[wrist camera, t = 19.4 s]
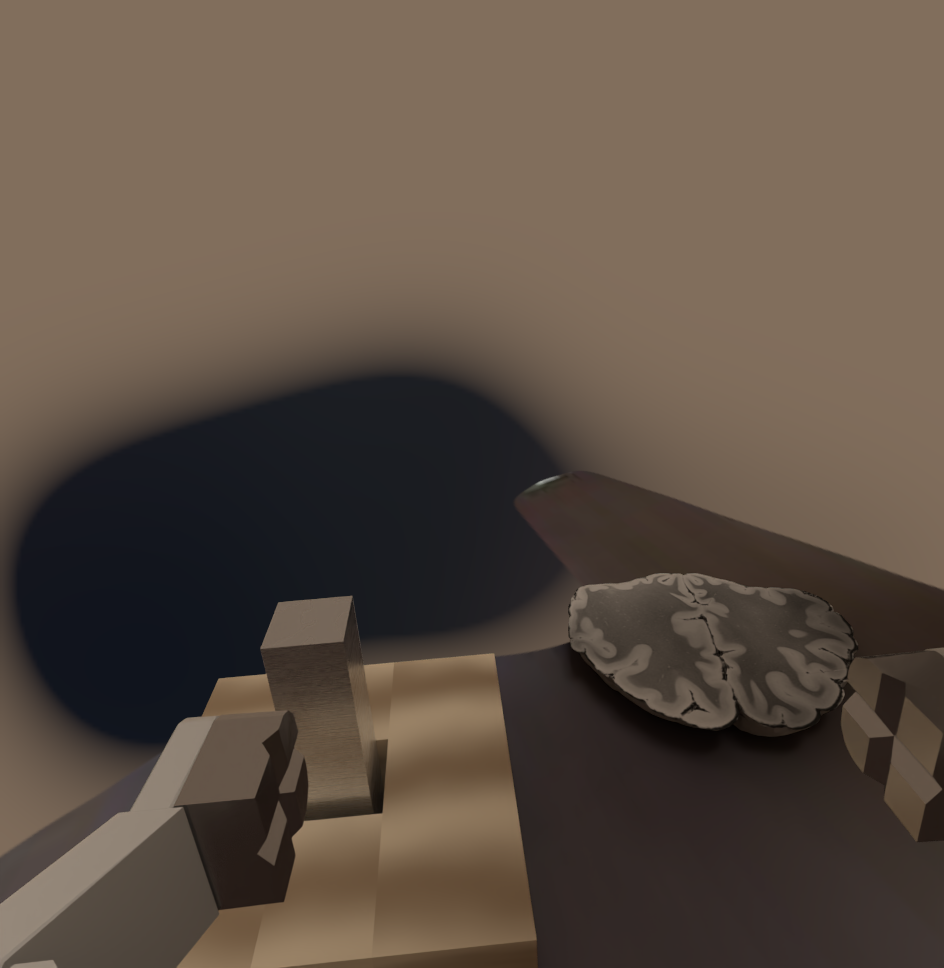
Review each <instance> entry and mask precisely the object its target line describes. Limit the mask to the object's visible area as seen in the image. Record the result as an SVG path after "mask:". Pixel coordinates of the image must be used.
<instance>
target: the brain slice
mask: <svg viewBox="0 0 944 968" xmlns="http://www.w3.org/2000/svg"><path fill="white" fill-rule="evenodd" d="M568 613H569V615H570V616H569V627H568V631H569V638H570V646H571V647H572V648H573V650H575V651H577V652H579V653H580V655H581V657H582V658H583V660H584V661H585V662H586V663H587V664H588V665H589V666H590V667H591V668H592V669H593V670H594V671H595V672H596V673H597V674H598V675H599V676H600V677H601V678H602V680H603V681H604V682H605V683H606V684H607V685H608V686H609V687H611V688H612V689H613V690H616V691H619V692H620V693H621V694H622V695H623V696H625V697H626V698H628V699H629V700H630V701H632V702H633V703H635V704H636V705H638V706H639V707H641V708H642V709H644V710H646V711H647V712H649V713H651V714H653V715H655V716H657V717H660V718H663V719H666V720H670V721H673V722H678V723H680V724H683V725H685V726H690V727H694V728H702V729H708V730H714V731H717V730H723V729H725V728H728V727H729V726H731V725H732V724H733V725H735V726H736V727H737V728H738V729H739V730H742V731H745V732H749V733H750V734H754V735H757V736H767V737H776V736H784V735H788V734H791V733H794V732H798V731H801V730H804V729H807V728H809V727H811V726H814V725H815V724H816V723H818V722H819V720H820V717H821V715H822V714H824V713H827V712H829V711H831V710H833V709H835V708H837V707H838V706H839V704H840V703H841V702H842V700H843V698H844V695H845V693H844V690H843V687H844V686H845V685H846V683H847V682H848V681H847V677H848V672H849V666H850V665H851V663H852V662H853V660H854V656H853V655H854V654H855V653H856V651H857V650H858V643H857V641H856V640H855V638H854V637H853V633H854V630H853V628H852V626H851V625H850V624H849V623H848V622H847V621H846V620H845V619H844V618H843V617H842V615H840V614H839V613H836V612H833V607H832V606H831V605H830V604H829V603H828V602H827V601H825V600H823V599H822V598H820V597H818V596H816V595H814V594H811V593H808V592H805V591H801V590H797V589H792V588H790V589H785V588H774V587H771V588H762V587H749V586H745V585H741V584H738V583H734V582H731V581H728V580H723V579H718V578H714V577H711V576H707V575H702V574H697V573H688V574H686V575H682V574H680V573H679V574H671V573H656V574H652V575H649V576H647V577H643V578H638V579H635V580H632V581H629V582H624V583H619V584H597V585H586V586H583V587H580V588H579V589H577V590H576V592H575V594H574V595H573V597H572V599H571V601H570V604H569V608H568Z"/></svg>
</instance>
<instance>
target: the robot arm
mask: <svg viewBox="0 0 944 968" xmlns="http://www.w3.org/2000/svg"><path fill="white" fill-rule="evenodd" d="M847 681H848V683H849V684H850V685H851V687H852V688H853V689H854V691H855V693H854V694H853V695H852V696H851V697H850V698H849V699H848V700H847V701H846V703H845V704H844V705H843V708H842V717H841V728H842V733H843V737H844V741H845V745H846V747H847V749H848V751H849V753H850V755H851V757H852V759H853V760H854V762H855V763H856V764H857V766H858V767H859V768H860V770H861V771H862V772H863V773H864V774H865V775H867V776H869V777H871V778H872V779H874V780H876V781H878V782H879V783H881V784H883V785H885V786H884V801H885V802H886V803H887V805H888V806H889V807H890V808H891V810H892V811H893V812H894V814H895V815H896V816H897V817H898V819H899V820H900V821H901V823H902V824H903V825H904V826H905V828H906V829H907V830H908V831H909V833H910V834H911V835H912V837H913V838H914V839H915V840H916V842H928V841H944V647H943V648H935V649H926V650H925V651H915V652H905V653H895V654H885V655H875V656H865V657H856V658H855V659H854V660H853V662H852V663H851V665H850V666H849V672H848V677H847ZM297 735H298V728H297V725H296V721H295V718H294V714H293V713H292V712H290V711H289V710H284V711H270V712H255V713H241V714H227V715H221V716H207V717H193V718H186V719H185V720H183V721H182V722H181V723H179V724H178V725H177V727H176V729H175V731H174V732H173V734H172V736H171V738H170V740H169V741H168V743H167V745H166V747H165V749H164V750H163V752H162V754H161V756H160V758H159V759H158V761H157V763H156V765H155V767H154V768H153V770H152V772H151V774H150V776H149V778H148V779H147V781H146V783H145V785H144V787H143V788H142V790H141V792H140V794H139V796H138V797H137V799H136V801H135V803H134V805H133V806H132V808H131V810H130V812H124V813H118V814H116V815H115V816H114V817H113V818H111V819H110V820H109V821H107V822H106V823H105V824H103V825H102V826H101V827H100V828H98V829H97V830H96V831H94V832H93V833H92V834H91V835H89V836H88V837H87V838H85V839H84V840H83V841H81V842H80V843H79V844H78V845H76V846H75V847H74V848H72V849H71V850H70V851H69V852H67V853H66V854H65V855H63V856H62V857H61V858H59V859H58V860H57V861H56V862H54V863H53V864H52V865H50V866H49V867H48V868H47V869H45V870H44V871H43V872H41V873H40V874H39V875H37V876H36V877H35V878H34V879H32V880H31V881H30V882H28V883H27V884H26V885H25V886H23V887H22V888H21V889H19V890H18V891H17V892H15V893H14V894H13V895H12V896H10V897H9V898H8V899H6V900H5V901H4V902H3V903H1V904H0V968H176V967H177V966H178V965H179V964H180V963H181V961H182V960H183V959H184V958H185V956H186V955H187V954H188V953H189V951H190V950H191V949H192V948H193V946H194V945H195V944H196V943H197V941H198V940H199V939H200V938H201V936H202V935H203V934H204V933H205V931H206V930H207V929H208V928H209V927H210V925H211V924H212V923H213V922H214V920H215V919H216V918H217V917H218V915H219V911H218V910H225V909H233V908H241V907H249V906H257V905H265V904H272V903H280V902H284V901H285V897H286V893H287V889H288V885H289V881H290V877H291V873H292V869H293V865H294V860H295V856H296V854H295V850H294V846H293V842H292V837H293V836H294V835H295V834H296V833H297V832H298V831H299V830H300V829H301V827H302V826H303V823H304V819H305V814H306V810H307V800H308V774H307V767H306V762H305V758H304V755H302V754H301V753H300V752H299V751H298V750H296V749H295V748H294V746H295V742H296V739H297Z"/></svg>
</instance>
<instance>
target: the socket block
mask: <svg viewBox="0 0 944 968" xmlns="http://www.w3.org/2000/svg"><path fill="white" fill-rule="evenodd" d="M364 670H365V677H366V683H367V689H368V695H369V701H370V707H371V714H372V720H373V726H374V732H375V738H376V744H377V750H378V757H379V763H380V769H381V775H382V781H383V787H384V801H383V813H381V814H371V815H361V816H351V817H341V818H331V819H321V820H311V821H304V823H303V826H302V827H301V829H300V830H299V831H298V832H297V833H296V834H295V835H294V836H293V837H292V842H293V846H294V850H295V854H296V856H295V860H294V865H293V869H292V873H291V877H290V881H289V885H288V889H287V893H286V897H285V901H284V902H280V903H272V904H265V905H257V906H249V907H241V908H233V909H225V910H218V911H219V915H218V917H217V918H216V919H215V920H214V922H213V923H212V924H211V925H210V927H209V928H208V929H207V930H206V931H205V933H204V934H203V935H202V936H201V938H200V939H199V940H198V941H197V943H196V944H195V945H194V946H193V948H192V949H191V950H190V951H189V953H188V954H187V955H186V956H185V958H184V959H183V960H182V961H181V963H180V964H179V965H178V966H177V967H176V968H538V962H537V939H536V932H535V925H534V919H533V912H532V905H531V898H530V892H529V885H528V878H527V871H526V865H525V858H524V851H523V845H522V838H521V831H520V824H519V818H518V811H517V804H516V798H515V791H514V784H513V777H512V771H511V764H510V757H509V750H508V744H507V737H506V730H505V724H504V717H503V710H502V703H501V697H500V690H499V683H498V677H497V670H496V663H495V656H494V654H493V653H492V654H481V655H472V656H471V655H470V656H460V657H449V658H438V659H427V660H416V661H405V662H394V663H384V664H373V665H364ZM270 711H275V708H274V703H273V699H272V695H271V691H270V687H269V683H268V678H267V674H264V675H254V676H243V677H234V678H233V677H232V678H222V679H218V682H217V684H216V686H215V688H214V691H213V693H212V695H211V697H210V700H209V702H208V704H207V706H206V709H205V711H204V713H203V715H202V717H207V716H221V715H227V714H241V713H255V712H270Z"/></svg>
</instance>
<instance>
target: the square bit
mask: <svg viewBox="0 0 944 968" xmlns="http://www.w3.org/2000/svg"><path fill="white" fill-rule="evenodd" d="M261 653H262V657H263V661H264V665H265V670H266V674H267V678H268V683H269V687H270V691H271V695H272V699H273V703H274V708H275V711H284V710H289V711H290V712H292V713H293V714H294V718H295V721H296V725H297V728H298V735H297V739H296V742H295V746H294V748H295V749H296V750H298V751H299V752H300V753H301V754H302V755H304V758H305V762H306V767H307V774H308V800H307V810H306V814H305V819H304V821H311V820H321V819H331V818H341V817H351V816H361V815H371V814H381V813H383V801H384V787H383V781H382V775H381V769H380V763H379V757H378V750H377V744H376V738H375V732H374V726H373V720H372V714H371V707H370V701H369V695H368V689H367V683H366V677H365V670H364V665H363V659H362V653H361V646H360V640H359V634H358V628H357V621H356V615H355V609H354V603H353V597H352V596H346V597H334V598H323V599H312V600H300V601H289V602H279V603H278V605H277V607H276V610H275V613H274V615H273V618H272V620H271V623H270V626H269V628H268V631H267V634H266V636H265V638H264V641H263V644H262V646H261Z"/></svg>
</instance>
